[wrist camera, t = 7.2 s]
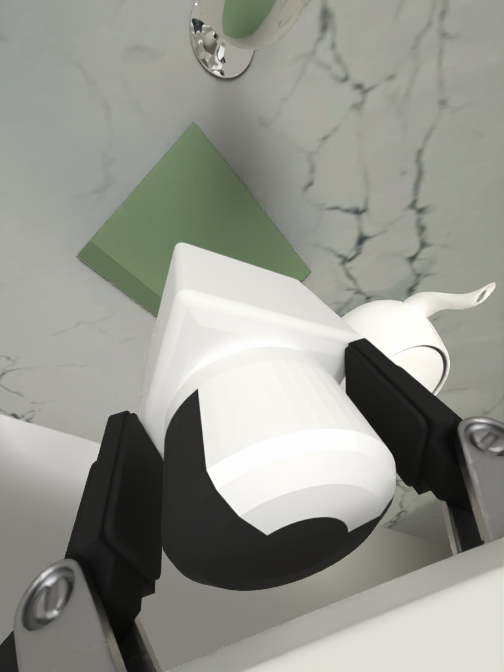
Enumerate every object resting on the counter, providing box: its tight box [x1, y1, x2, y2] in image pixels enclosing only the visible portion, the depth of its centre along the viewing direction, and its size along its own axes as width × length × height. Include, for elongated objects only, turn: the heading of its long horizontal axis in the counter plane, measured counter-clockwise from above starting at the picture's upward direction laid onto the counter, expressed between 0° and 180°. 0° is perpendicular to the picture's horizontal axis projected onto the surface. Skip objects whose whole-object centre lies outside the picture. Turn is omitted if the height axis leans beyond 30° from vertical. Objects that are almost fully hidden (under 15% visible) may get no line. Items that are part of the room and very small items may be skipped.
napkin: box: [76, 122, 311, 317], centre depth 26 cm, size 16×14×1 cm
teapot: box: [340, 283, 495, 395], centre depth 31 cm, size 22×14×11 cm, turn 150°
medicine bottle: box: [138, 242, 396, 591], centre depth 12 cm, size 7×7×12 cm
